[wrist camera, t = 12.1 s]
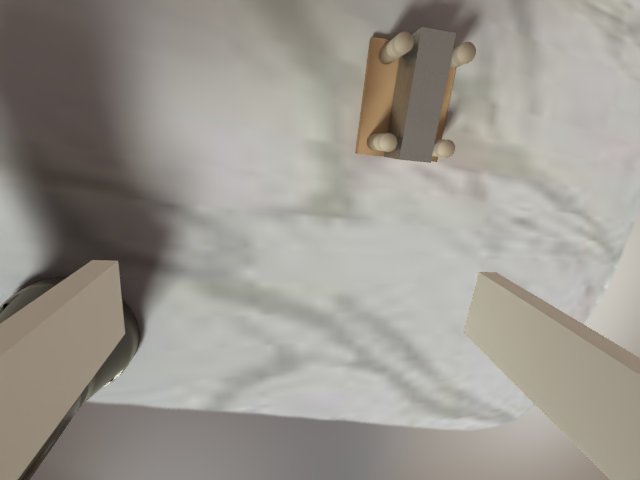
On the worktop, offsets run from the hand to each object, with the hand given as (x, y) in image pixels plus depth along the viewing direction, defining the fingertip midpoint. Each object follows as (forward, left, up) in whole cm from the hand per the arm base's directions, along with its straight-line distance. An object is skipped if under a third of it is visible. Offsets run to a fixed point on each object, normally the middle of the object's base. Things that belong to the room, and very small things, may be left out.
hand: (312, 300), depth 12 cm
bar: (+13, +11, -27) cm, 32 cm away
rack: (+13, +11, -28) cm, 33 cm away
